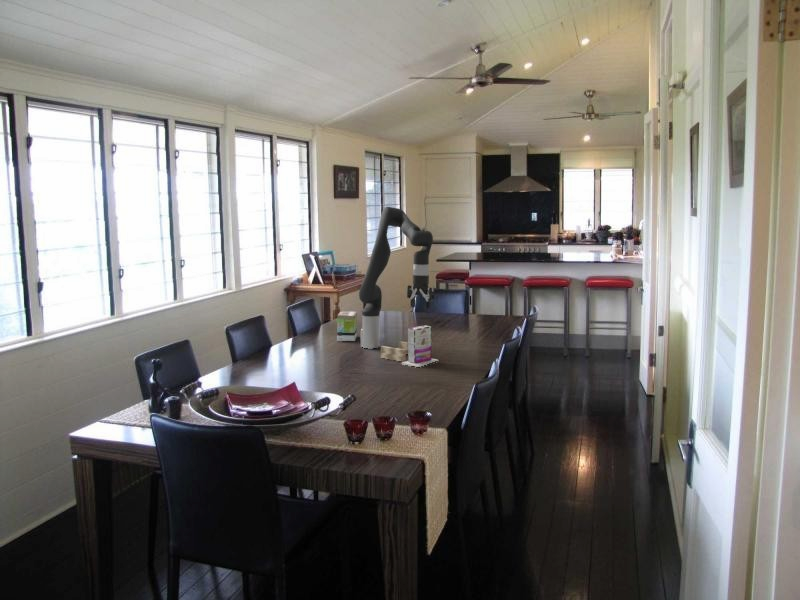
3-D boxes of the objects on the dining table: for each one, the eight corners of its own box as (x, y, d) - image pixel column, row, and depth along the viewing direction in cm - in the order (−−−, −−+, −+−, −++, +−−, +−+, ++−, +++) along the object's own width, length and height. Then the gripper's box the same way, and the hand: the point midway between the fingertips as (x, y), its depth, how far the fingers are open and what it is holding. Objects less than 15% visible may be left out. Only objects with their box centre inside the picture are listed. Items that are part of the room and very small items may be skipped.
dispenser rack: (380, 358, 334) (380, 346, 333) (400, 352, 346) (400, 341, 345) (403, 362, 325) (404, 350, 324) (423, 356, 337) (423, 345, 336)
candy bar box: (424, 358, 329) (424, 324, 327) (431, 360, 325) (432, 326, 323) (407, 361, 322) (407, 327, 320) (414, 363, 318) (414, 329, 316)
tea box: (355, 342, 373) (354, 315, 371) (336, 341, 373) (336, 315, 371) (357, 336, 388) (357, 310, 385) (339, 336, 388) (339, 310, 386)
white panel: (401, 364, 320) (401, 362, 320) (421, 358, 333) (421, 356, 333) (418, 367, 314) (418, 365, 314) (438, 361, 327) (438, 359, 327)
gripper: (403, 273, 319) (403, 307, 321) (428, 275, 310) (428, 310, 312) (413, 272, 325) (413, 305, 327) (438, 274, 316) (437, 309, 318)
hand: (420, 308), depth 320 cm, fingers open, 8 cm apart
